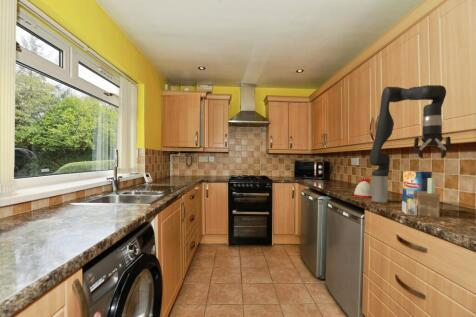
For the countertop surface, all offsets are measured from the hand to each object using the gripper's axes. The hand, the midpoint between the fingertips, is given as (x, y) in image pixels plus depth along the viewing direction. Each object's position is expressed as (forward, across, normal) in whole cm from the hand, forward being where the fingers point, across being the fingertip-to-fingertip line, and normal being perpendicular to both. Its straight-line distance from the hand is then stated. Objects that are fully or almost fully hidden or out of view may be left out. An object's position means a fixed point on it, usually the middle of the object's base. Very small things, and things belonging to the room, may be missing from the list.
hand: (431, 158), depth 118 cm
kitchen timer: (+29, +26, -57) cm, 69 cm away
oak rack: (+29, +2, 0) cm, 29 cm away
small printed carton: (+29, +9, 0) cm, 31 cm away
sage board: (+28, 0, 0) cm, 28 cm away
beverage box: (+29, +3, -12) cm, 32 cm away
